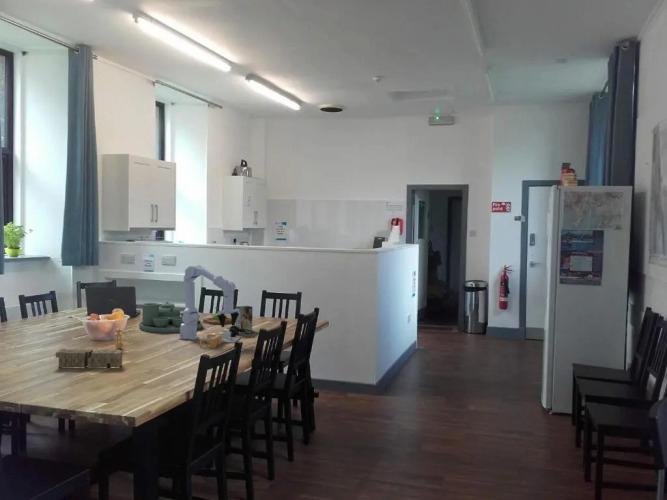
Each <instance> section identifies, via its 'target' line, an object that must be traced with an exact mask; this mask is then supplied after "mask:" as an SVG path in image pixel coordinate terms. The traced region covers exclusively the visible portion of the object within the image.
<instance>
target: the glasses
mask: <svg viewBox="0 0 667 500" xmlns="http://www.w3.org/2000/svg"><path fill="white" fill-rule="evenodd" d="M209 336H214V337H212V338H211V339H209ZM204 341H207V342H206V343H207V344H209V347H208V348H209V349H215V348H216V347H217V346H220V345H221V344H222V343H221V335H218V334H217V335H213V334H212V333H210V334H209V333H207V337H206V338H203V337H202V338H201V337H199V348H203V342H204ZM209 341H210V342H209Z"/></svg>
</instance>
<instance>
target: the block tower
mask: <svg viewBox="0 0 667 500" xmlns="http://www.w3.org/2000/svg"><path fill="white" fill-rule="evenodd" d="M123 354H124V352H123V350H122V349H95V350H93V349H92V348H91V349H87V348H86V349H84V348H78V349H66V348H61V349H59V350H58V351H56V352H55V358H58V367H85V366H88V367H107V366H108V365H110V366H109V368H110V367H120V366H121V365H122V366H123ZM122 366H121V367H122ZM58 367H57V368H58ZM121 367H120V368H121ZM85 368H86V367H85Z"/></svg>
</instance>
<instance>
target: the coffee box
mask: <svg viewBox="0 0 667 500" xmlns="http://www.w3.org/2000/svg"><path fill="white" fill-rule="evenodd" d="M235 309H238V310H239V316H238V317H237V320H236V323H235V326H237V327H238V328H239V329H246V330H251V331H253V306H251V305H239V306H235Z"/></svg>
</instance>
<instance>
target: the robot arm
mask: <svg viewBox="0 0 667 500" xmlns="http://www.w3.org/2000/svg"><path fill="white" fill-rule="evenodd" d="M198 277H203V278H206V279H208V280H210V281H211V282H213V283H212V284H213V285H214V286H216V287H218V288H219V289H220V290H222V293H223V309H222V311H221V310H219V311H218V310H217V311H216V314H217V316H218V318H219V320H220V323H221V325H220V327H222V328H225V327H226V325H225V318H226V317H227V315H230V318H231V323H230V324H231V326H236V320H237V317H238V316H239V310H238V309H236V308H235V309H234V299H235V297H234V296H235V295H234V294H235V291H236V288H237V287H236V284H235V283H234V282H233V281H230V282H229V280H228V279H226V278H224V277H223V276H222V275H217V276H216V275H215V274H213V273H211V271H209V270H207V269H206V268H205V267H204V266H202V265H193V266H192V265H191V266H190V265H189V266H188V267H187V268H186V269H184V276H183V287H184V288H183V290H184V291H183V292H184V303H185V304H184V305H185V309H184V310H183V311H182V312H183V317H182V316H181V317H182V321H183V322H184V323H182V324H181V326H180V333H179V340H194V341H195V340H196V339H198V338H200V336H198V335H197V332H198V331H197V330H198V329H197V321H198V320H199V321H200V317H199V315H200V313H199V312H198V309H197V308H196V303H195V291H194V289H195V288H194V281H195V280H196V279H197V278H198ZM224 315H225V316H224Z"/></svg>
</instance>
